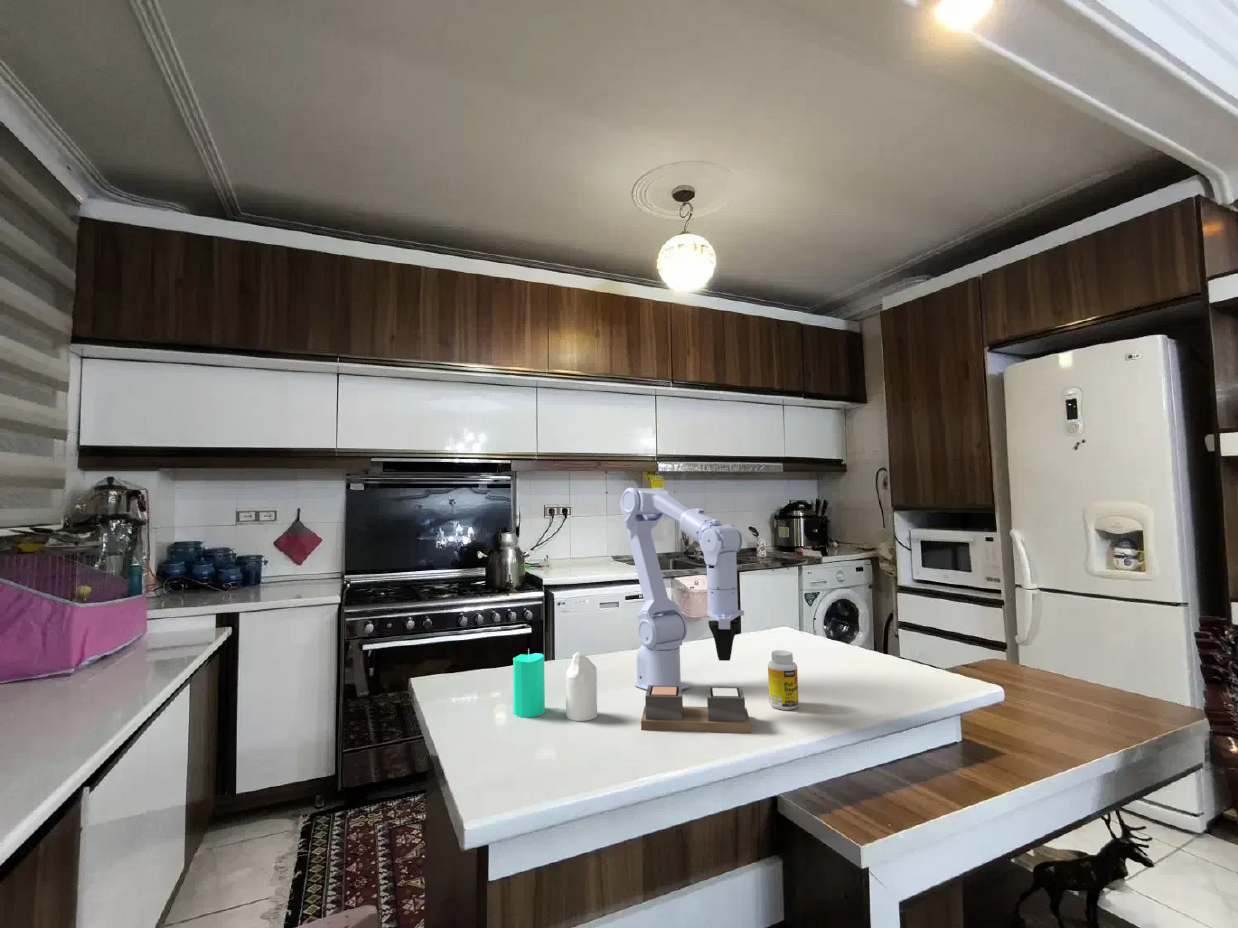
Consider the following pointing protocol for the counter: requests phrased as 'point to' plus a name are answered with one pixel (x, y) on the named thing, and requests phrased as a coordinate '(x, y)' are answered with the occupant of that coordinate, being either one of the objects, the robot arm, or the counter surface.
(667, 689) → the clay key
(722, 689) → the white key
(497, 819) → the counter surface
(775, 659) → the supplement bottle
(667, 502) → the robot arm
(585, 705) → the white bottle
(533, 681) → the candle
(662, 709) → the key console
